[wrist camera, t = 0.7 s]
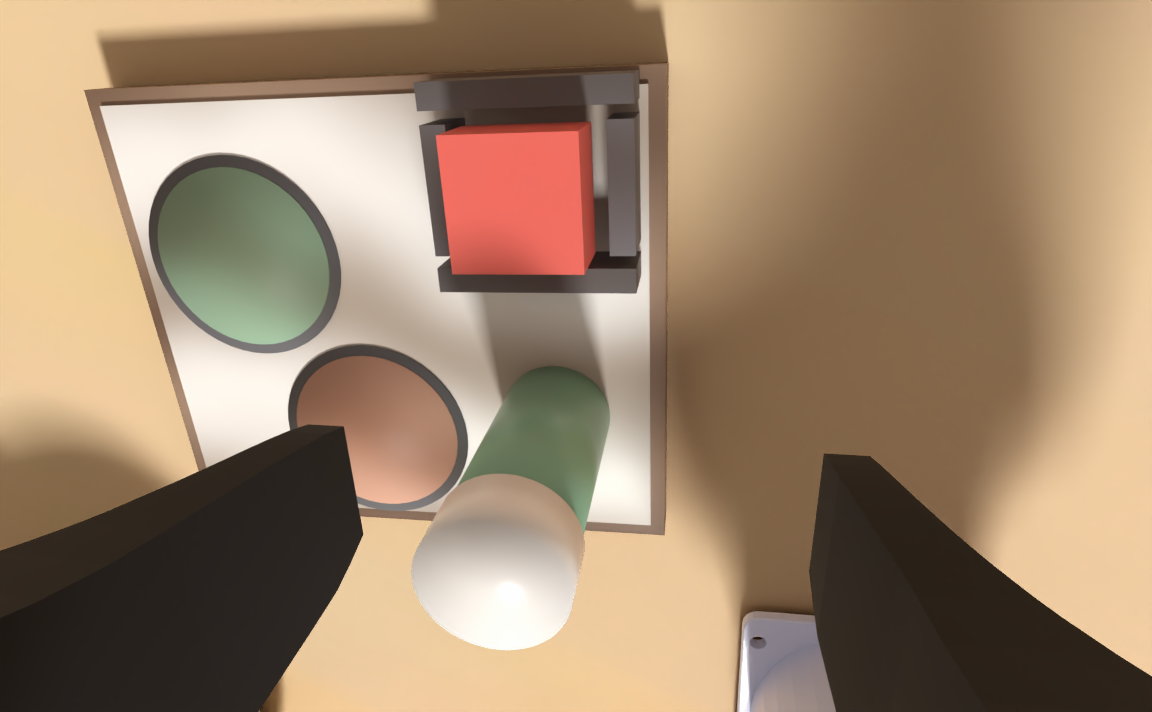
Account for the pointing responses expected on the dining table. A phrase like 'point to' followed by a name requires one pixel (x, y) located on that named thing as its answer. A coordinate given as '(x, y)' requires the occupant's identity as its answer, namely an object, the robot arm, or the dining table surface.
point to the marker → (518, 516)
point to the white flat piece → (391, 271)
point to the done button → (519, 198)
